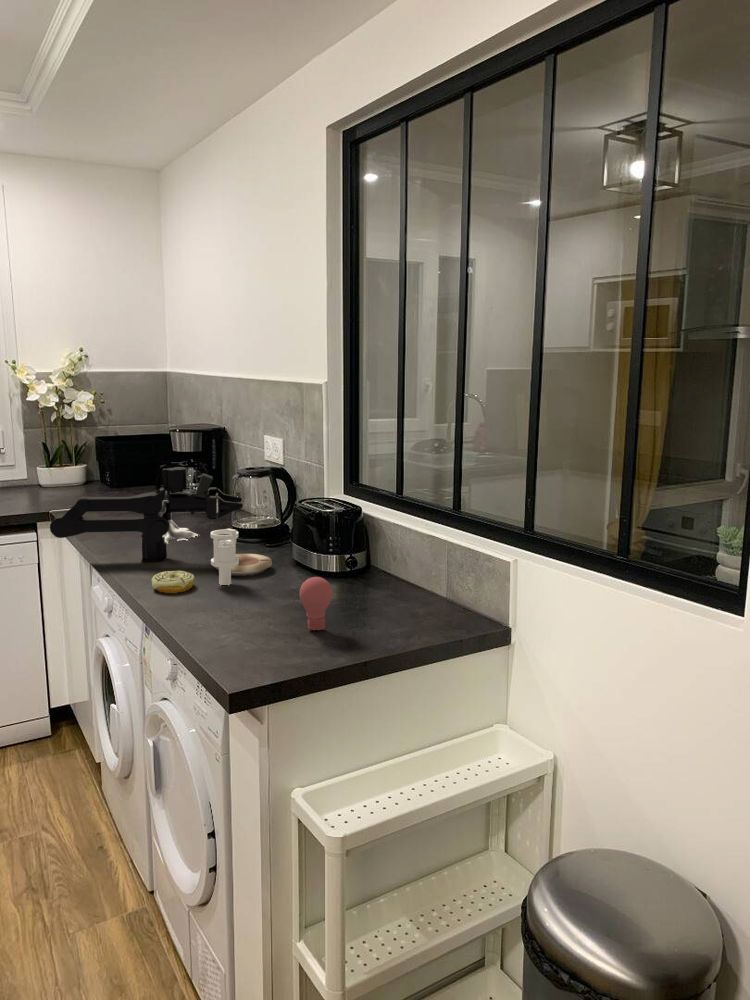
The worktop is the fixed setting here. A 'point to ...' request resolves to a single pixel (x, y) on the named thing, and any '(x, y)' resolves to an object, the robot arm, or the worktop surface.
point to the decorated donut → (172, 581)
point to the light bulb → (315, 601)
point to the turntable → (251, 563)
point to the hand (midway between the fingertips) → (242, 502)
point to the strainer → (224, 553)
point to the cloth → (178, 533)
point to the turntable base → (246, 573)
